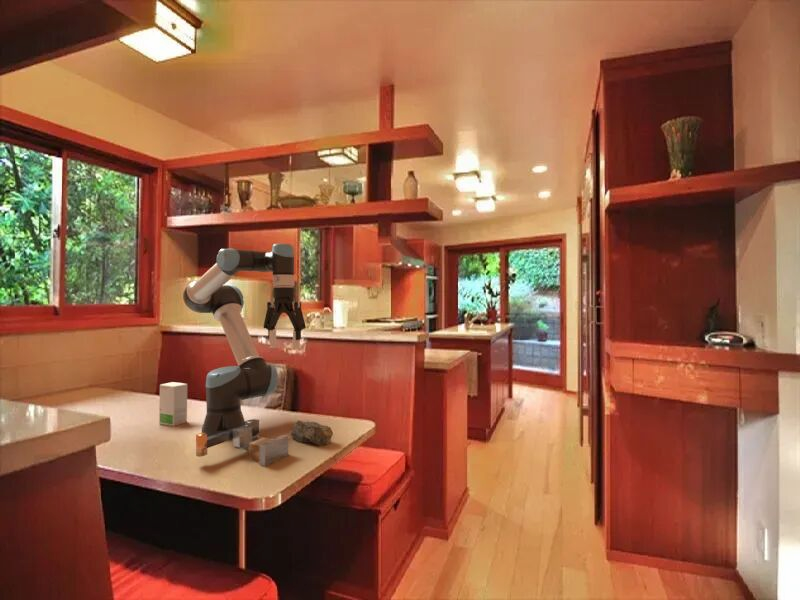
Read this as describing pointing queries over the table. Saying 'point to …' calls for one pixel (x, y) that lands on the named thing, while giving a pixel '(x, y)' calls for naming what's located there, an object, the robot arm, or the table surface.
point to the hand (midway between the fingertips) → (284, 348)
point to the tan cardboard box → (256, 449)
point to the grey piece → (271, 449)
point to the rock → (311, 432)
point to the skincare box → (173, 403)
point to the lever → (227, 437)
